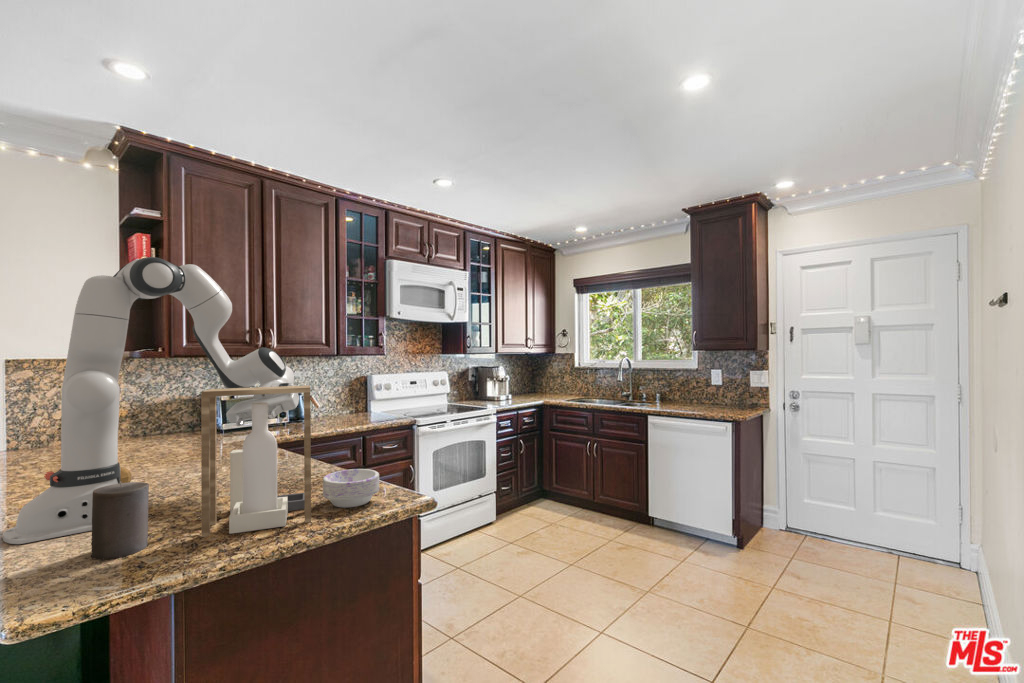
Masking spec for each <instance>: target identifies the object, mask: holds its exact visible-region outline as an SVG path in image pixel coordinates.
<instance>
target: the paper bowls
mask: <svg viewBox="0 0 1024 683" xmlns="http://www.w3.org/2000/svg"><path fill="white" fill-rule="evenodd" d="M379 491H380V473H379V472H378V471H376V470H374V469H369V468H352V469H343V470H339V471H338V470H337V471H334V472H331V473H328V474H326V475H324V477H322V496H323V498H324V499H327V500H329V501H330V502H331V504H332V505H333V506H334V507H337V508H343V509H346V508H348V509H350V508H356V507H360V506H363V505H366V504H368V503H369V502H370V501H371V500H372V498H373V496H374V495H375V494H377V493H378V492H379Z"/></svg>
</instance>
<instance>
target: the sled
mask: <svg viewBox="0 0 1024 683" xmlns="http://www.w3.org/2000/svg"><path fill="white" fill-rule="evenodd" d="M229 475H230V477H229V479H230V482H229V487H230V492H229V494H230V495H229V496H230V498H229V499H230V500H229V504H230V505H229V508H230V510H229V513H230V515H229V518H228V519H229V520H228V522H229V523H228V530H229V531H228V533H229V535H230V534H238V533H246V532H252V531H260V530H267V529H273V528H280V527H286V526H287V519H288V512H289V511H288V496H287V497H279V498H277V507H278V509H276V510H269V511H261V512H253V513H245V514H242V512H243V449H233V450H231V452H230V453H229Z"/></svg>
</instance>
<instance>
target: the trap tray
mask: <svg viewBox="0 0 1024 683" xmlns="http://www.w3.org/2000/svg"><path fill="white" fill-rule="evenodd" d="M287 496H288V512H291V511H299V510H305V494H304V492H300V493H299V492H296V493H289V494H280V495H277V498H279V497H287Z"/></svg>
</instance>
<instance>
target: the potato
mask: <svg viewBox="0 0 1024 683" xmlns="http://www.w3.org/2000/svg"><path fill="white" fill-rule="evenodd" d="M132 478H133V476H132V472H131V471H130V470H129V469H128V468H125V467H122V466H120V481H121V483H129V482H132ZM119 484H120V483H119Z"/></svg>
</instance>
